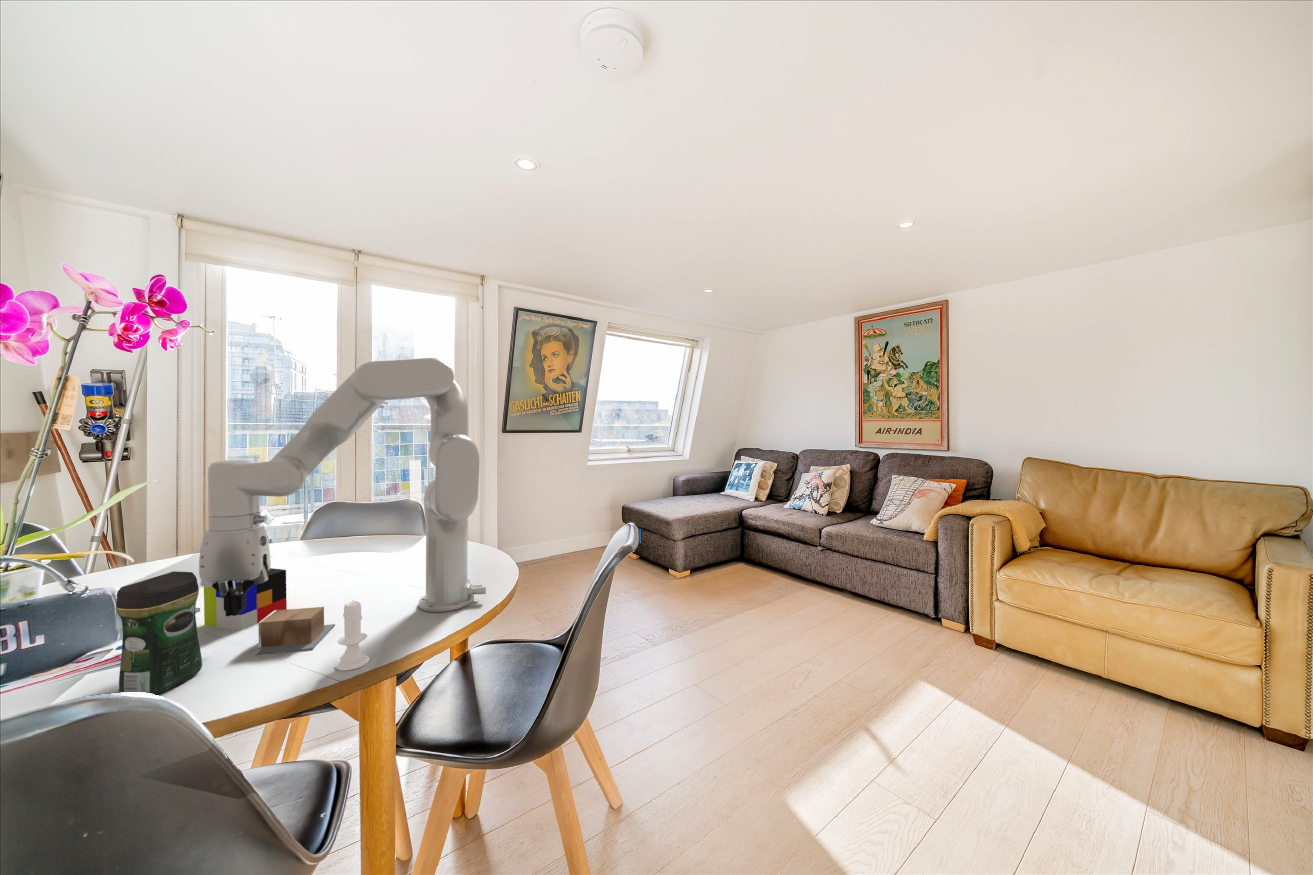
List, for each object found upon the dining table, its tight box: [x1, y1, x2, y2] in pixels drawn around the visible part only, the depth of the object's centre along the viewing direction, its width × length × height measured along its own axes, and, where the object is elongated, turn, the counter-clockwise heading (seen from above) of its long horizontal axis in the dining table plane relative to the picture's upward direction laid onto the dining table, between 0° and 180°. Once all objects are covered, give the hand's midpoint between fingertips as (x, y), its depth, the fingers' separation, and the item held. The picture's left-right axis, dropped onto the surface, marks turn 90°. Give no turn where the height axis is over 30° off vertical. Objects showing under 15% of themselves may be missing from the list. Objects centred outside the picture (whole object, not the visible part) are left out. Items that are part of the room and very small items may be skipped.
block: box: [257, 606, 325, 648], centre depth 96 cm, size 5×6×9 cm
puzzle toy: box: [203, 567, 288, 631], centre depth 106 cm, size 10×10×10 cm
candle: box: [335, 599, 370, 672], centre depth 88 cm, size 5×5×12 cm
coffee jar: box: [115, 570, 203, 695], centre depth 80 cm, size 10×8×19 cm
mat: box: [255, 623, 336, 656], centre depth 97 cm, size 10×11×1 cm
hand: (235, 613), depth 93 cm, fingers closed
